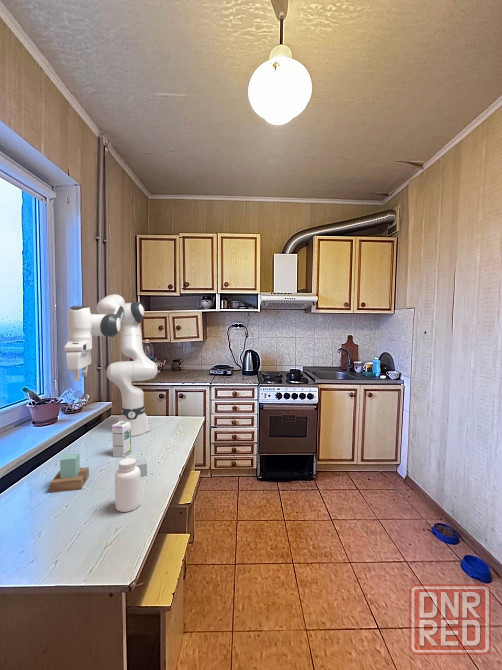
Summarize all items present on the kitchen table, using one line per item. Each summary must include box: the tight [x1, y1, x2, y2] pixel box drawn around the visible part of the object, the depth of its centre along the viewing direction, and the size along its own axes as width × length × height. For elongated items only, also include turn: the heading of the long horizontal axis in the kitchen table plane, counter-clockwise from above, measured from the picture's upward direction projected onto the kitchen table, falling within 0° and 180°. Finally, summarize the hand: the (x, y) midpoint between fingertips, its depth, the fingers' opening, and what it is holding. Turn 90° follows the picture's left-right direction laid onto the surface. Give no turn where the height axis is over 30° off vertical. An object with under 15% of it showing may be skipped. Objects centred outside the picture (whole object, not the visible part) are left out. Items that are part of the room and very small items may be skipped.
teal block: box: [59, 452, 81, 479], centre depth 116 cm, size 5×5×7 cm
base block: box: [49, 466, 90, 494], centre depth 116 cm, size 10×10×4 cm
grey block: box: [135, 458, 148, 478], centre depth 124 cm, size 5×5×5 cm
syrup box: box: [111, 421, 132, 458], centre depth 142 cm, size 6×6×14 cm
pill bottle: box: [114, 457, 142, 513], centre depth 103 cm, size 8×8×15 cm
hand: (80, 378), depth 128 cm, fingers open, 8 cm apart
